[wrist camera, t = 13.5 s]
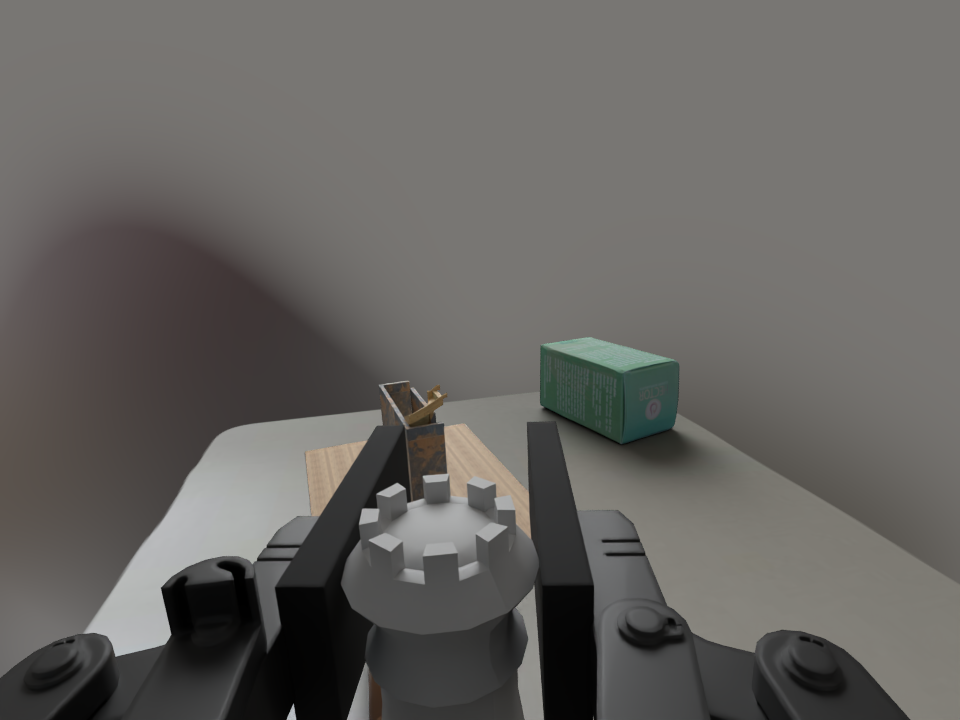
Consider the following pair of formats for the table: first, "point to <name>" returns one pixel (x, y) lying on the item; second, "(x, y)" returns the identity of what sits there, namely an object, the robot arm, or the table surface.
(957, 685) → the table surface
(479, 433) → the table surface
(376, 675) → the rook chess piece
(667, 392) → the box
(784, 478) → the table surface
